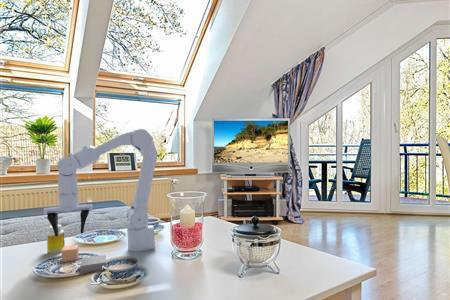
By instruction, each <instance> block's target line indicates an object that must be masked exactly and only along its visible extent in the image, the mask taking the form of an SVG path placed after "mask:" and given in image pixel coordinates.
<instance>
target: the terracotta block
mask: <svg viewBox="0 0 450 300" xmlns="http://www.w3.org/2000/svg"><path fill="white" fill-rule="evenodd" d="M79 250H80V249H79V244H74V245H65V246H64V247H63V249H62V252H61V262H62V263H64V262H72V261H78V260H79V255H80V251H79Z"/></svg>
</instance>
